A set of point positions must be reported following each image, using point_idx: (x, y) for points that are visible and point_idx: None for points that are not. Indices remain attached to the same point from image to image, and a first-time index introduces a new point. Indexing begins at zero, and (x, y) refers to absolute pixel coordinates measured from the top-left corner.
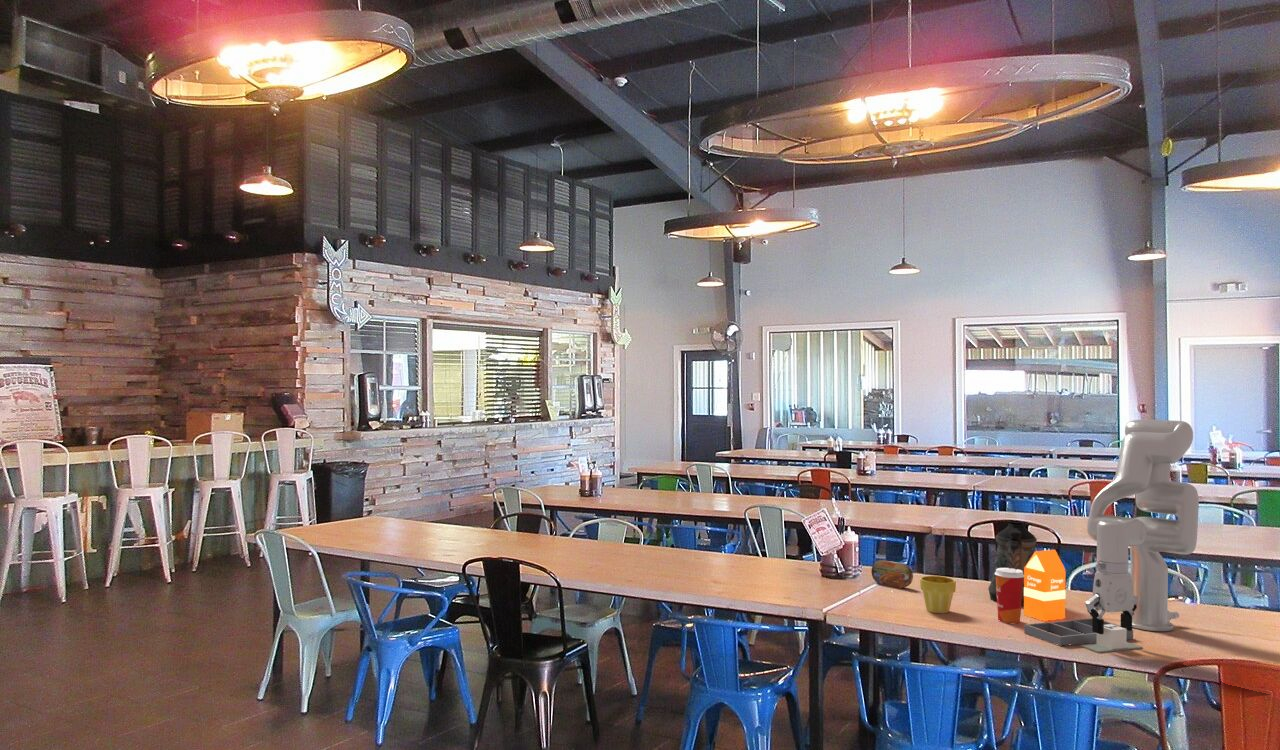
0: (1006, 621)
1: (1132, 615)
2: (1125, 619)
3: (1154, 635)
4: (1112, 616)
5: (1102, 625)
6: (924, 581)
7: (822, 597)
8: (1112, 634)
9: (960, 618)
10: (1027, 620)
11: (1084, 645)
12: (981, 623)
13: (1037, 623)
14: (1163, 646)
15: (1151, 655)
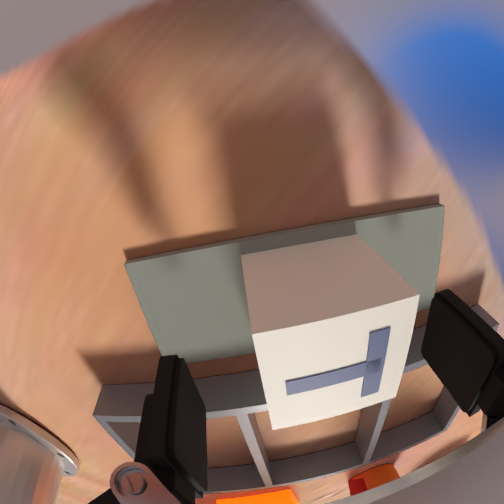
0: (393, 466)
1: (133, 464)
2: (191, 445)
3: (22, 392)
4: (91, 486)
5: (482, 321)
6: None
7: None
8: (396, 277)
9: (435, 458)
10: (324, 486)
11: (422, 302)
12: (436, 446)
13: (410, 446)
14: (17, 282)
15: (161, 116)
